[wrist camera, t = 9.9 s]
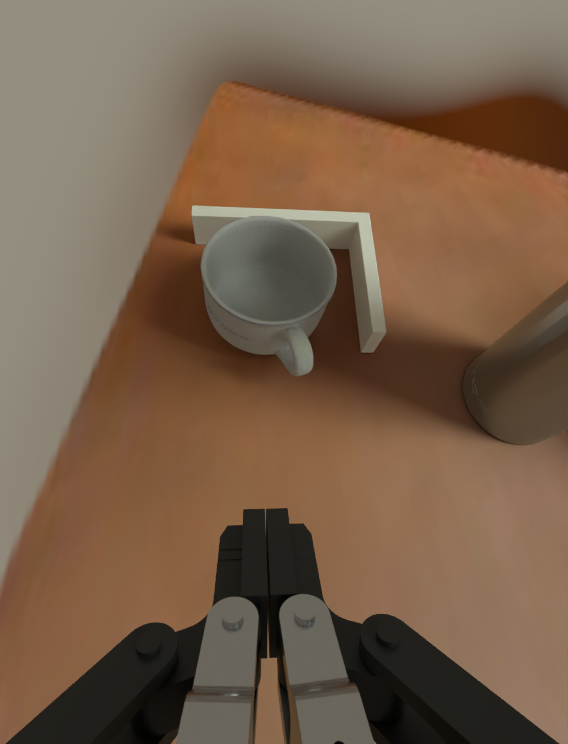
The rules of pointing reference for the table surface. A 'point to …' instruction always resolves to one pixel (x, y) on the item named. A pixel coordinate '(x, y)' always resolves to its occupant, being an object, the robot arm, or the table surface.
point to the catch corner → (336, 234)
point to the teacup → (268, 287)
